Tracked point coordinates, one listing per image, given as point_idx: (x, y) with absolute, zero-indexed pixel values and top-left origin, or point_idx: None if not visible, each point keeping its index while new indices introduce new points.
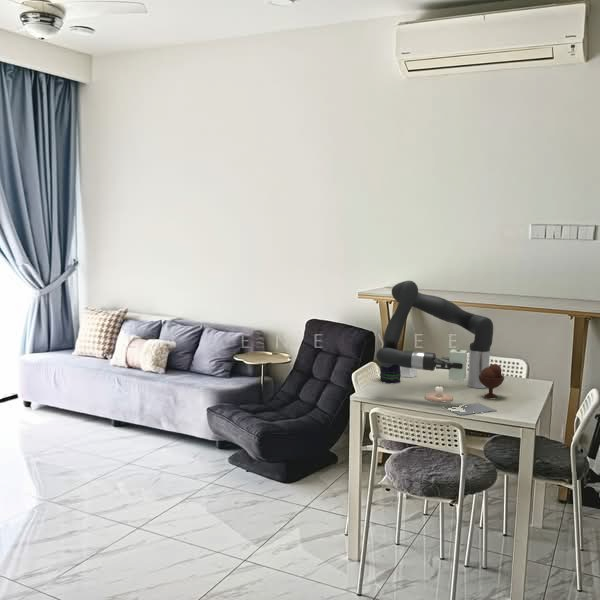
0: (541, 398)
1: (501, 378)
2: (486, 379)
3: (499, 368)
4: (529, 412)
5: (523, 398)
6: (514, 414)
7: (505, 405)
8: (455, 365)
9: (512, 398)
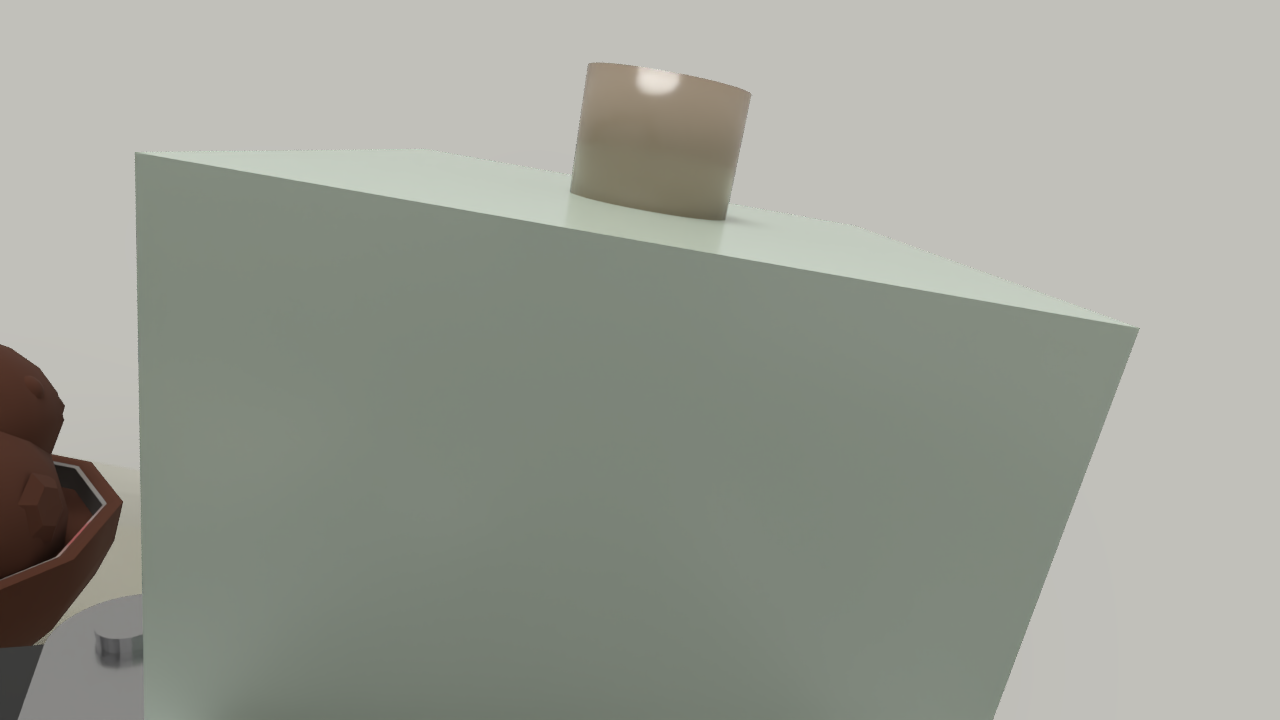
0: (130, 471)
1: (97, 471)
2: (23, 594)
3: (34, 368)
4: None
5: None
6: None
7: None
8: None
9: (76, 602)
